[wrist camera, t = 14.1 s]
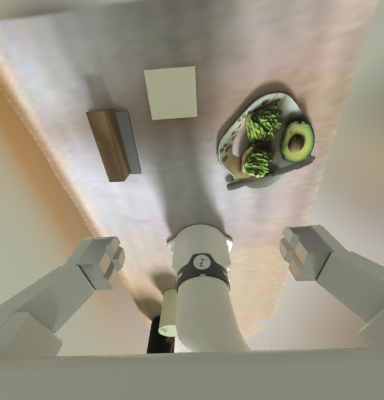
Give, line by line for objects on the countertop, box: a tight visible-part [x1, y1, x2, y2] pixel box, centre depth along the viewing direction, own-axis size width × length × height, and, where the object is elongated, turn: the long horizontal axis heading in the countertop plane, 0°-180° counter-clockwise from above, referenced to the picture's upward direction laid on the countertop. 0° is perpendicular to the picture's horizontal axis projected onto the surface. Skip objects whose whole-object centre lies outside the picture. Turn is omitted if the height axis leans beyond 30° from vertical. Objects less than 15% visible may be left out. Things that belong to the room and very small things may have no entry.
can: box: [158, 289, 178, 337], centre depth 59 cm, size 9×9×12 cm
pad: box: [116, 111, 141, 174], centre depth 33 cm, size 12×7×1 cm, turn 2°
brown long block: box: [86, 109, 131, 182], centre depth 31 cm, size 3×12×4 cm, turn 2°
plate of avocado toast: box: [218, 92, 315, 190], centre depth 33 cm, size 19×18×5 cm
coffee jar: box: [147, 316, 175, 354], centre depth 67 cm, size 11×11×18 cm
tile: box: [144, 66, 197, 120], centre depth 28 cm, size 7×2×8 cm
